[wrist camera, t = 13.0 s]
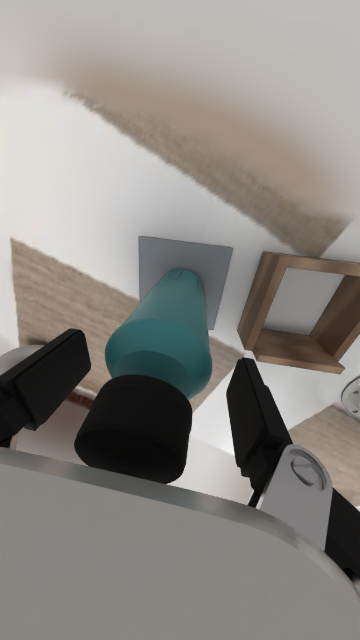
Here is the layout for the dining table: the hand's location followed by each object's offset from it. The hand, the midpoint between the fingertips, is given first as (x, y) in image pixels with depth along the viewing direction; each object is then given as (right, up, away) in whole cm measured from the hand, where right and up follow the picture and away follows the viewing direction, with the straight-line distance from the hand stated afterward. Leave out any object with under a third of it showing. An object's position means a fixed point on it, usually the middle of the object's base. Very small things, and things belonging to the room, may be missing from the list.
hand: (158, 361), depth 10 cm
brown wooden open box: (+17, +5, +13) cm, 22 cm away
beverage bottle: (+2, +7, +13) cm, 15 cm away
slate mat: (+1, +8, +14) cm, 16 cm away
